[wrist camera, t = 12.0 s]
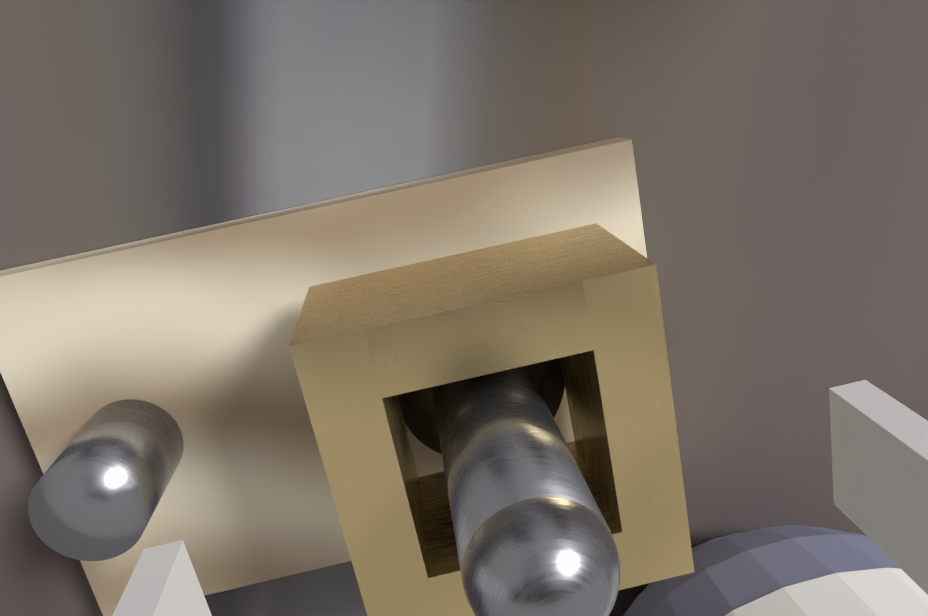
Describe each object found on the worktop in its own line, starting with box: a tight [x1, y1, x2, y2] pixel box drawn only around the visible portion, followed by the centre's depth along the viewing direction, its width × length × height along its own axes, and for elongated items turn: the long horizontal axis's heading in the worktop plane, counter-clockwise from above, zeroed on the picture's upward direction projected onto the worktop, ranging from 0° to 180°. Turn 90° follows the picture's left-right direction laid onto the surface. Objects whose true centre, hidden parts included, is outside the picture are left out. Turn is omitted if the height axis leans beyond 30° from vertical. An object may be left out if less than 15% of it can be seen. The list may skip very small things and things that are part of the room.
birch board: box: [0, 137, 647, 616], centre depth 25 cm, size 12×20×1 cm, turn 101°
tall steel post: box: [398, 358, 621, 616], centre depth 19 cm, size 5×5×12 cm
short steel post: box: [28, 399, 184, 561], centre depth 22 cm, size 3×3×4 cm
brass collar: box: [289, 223, 694, 616], centre depth 21 cm, size 8×8×5 cm
